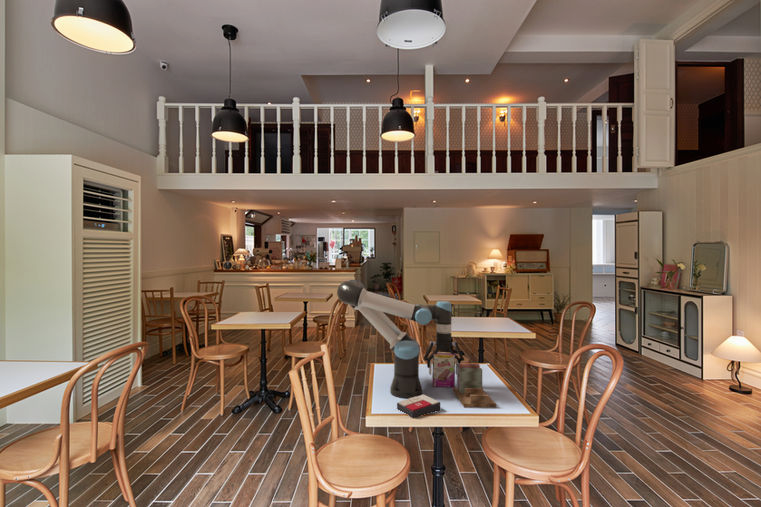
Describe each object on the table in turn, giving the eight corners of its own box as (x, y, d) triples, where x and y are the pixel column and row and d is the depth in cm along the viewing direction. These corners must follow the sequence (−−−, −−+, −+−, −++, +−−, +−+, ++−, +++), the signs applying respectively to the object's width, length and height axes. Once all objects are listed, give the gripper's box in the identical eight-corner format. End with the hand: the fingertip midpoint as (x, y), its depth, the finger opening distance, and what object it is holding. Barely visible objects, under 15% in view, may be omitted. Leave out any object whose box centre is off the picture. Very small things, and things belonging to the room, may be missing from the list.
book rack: (464, 407, 157) (464, 374, 157) (452, 390, 178) (452, 361, 178) (496, 407, 157) (496, 374, 158) (481, 390, 178) (481, 361, 179)
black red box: (396, 401, 154) (423, 392, 162) (396, 411, 154) (423, 402, 162) (412, 410, 145) (440, 400, 153) (413, 420, 145) (441, 411, 153)
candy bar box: (432, 387, 183) (432, 354, 183) (432, 383, 188) (432, 351, 188) (455, 388, 182) (455, 354, 182) (454, 384, 186) (454, 352, 187)
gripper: (420, 333, 181) (420, 376, 181) (470, 333, 182) (470, 376, 181) (418, 330, 189) (418, 372, 188) (466, 330, 190) (466, 372, 189)
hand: (443, 374), depth 185 cm, fingers open, 13 cm apart
